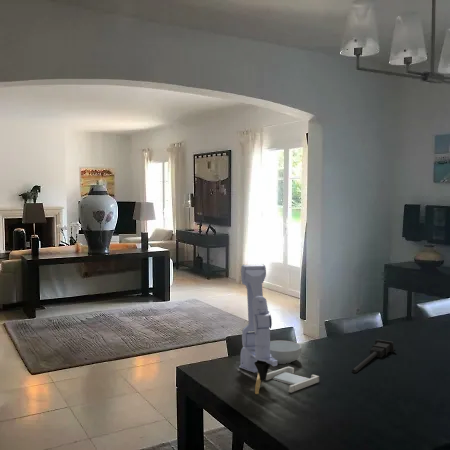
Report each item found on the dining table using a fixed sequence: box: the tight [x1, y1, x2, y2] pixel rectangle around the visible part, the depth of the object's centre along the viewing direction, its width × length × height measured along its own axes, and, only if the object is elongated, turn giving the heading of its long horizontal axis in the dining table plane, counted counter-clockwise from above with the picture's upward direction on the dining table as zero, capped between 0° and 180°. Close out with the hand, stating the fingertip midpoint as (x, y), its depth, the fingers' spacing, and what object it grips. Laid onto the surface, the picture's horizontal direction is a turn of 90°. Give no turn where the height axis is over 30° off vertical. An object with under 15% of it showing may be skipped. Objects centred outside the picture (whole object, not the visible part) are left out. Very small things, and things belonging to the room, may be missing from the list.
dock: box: [255, 365, 320, 393], centre depth 201 cm, size 19×17×2 cm
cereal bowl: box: [270, 339, 302, 365], centre depth 225 cm, size 17×17×7 cm
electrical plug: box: [351, 339, 395, 374], centre depth 226 cm, size 9×42×5 cm, turn 144°
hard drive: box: [272, 372, 310, 386], centre depth 202 cm, size 2×8×12 cm
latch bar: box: [254, 371, 262, 395], centre depth 196 cm, size 17×2×3 cm, turn 172°
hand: (263, 379), depth 197 cm, fingers closed, pressing on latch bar
